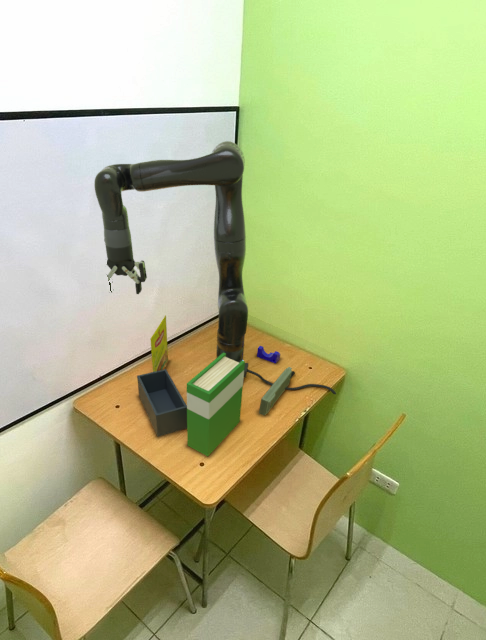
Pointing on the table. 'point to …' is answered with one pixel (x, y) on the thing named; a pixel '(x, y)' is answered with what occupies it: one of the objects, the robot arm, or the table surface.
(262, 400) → the grey-green rectangular bar
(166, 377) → the waste bin
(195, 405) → the hardback book
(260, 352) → the cable holder
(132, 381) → the table surface
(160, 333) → the food package
